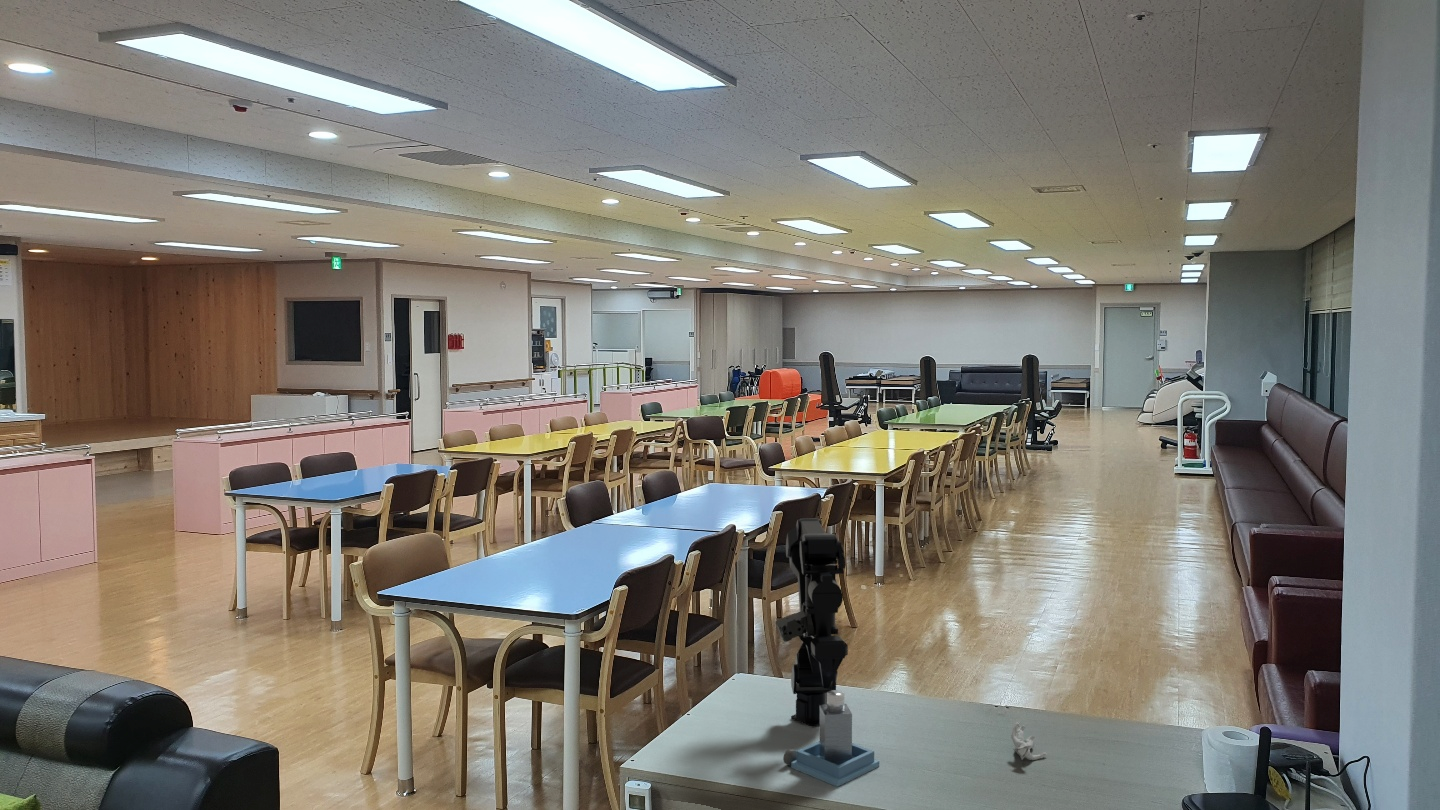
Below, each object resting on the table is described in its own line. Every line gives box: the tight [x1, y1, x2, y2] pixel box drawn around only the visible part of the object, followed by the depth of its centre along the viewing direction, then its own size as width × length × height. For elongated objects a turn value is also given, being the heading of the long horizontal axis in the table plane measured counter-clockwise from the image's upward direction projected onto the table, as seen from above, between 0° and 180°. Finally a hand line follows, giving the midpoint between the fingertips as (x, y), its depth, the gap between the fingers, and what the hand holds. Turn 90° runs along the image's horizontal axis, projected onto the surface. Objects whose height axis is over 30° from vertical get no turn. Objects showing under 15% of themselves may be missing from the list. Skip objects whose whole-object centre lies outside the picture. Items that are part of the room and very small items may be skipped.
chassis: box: [782, 740, 880, 787], centre depth 192 cm, size 13×12×3 cm
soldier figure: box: [1010, 721, 1048, 761], centre depth 197 cm, size 8×5×12 cm
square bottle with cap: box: [819, 689, 853, 765], centre depth 191 cm, size 5×5×13 cm
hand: (820, 680), depth 200 cm, fingers open, 9 cm apart
